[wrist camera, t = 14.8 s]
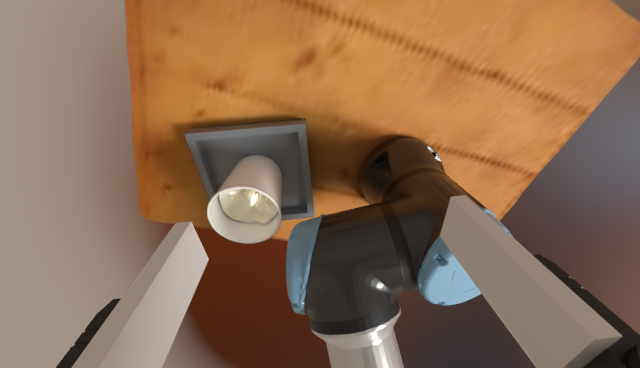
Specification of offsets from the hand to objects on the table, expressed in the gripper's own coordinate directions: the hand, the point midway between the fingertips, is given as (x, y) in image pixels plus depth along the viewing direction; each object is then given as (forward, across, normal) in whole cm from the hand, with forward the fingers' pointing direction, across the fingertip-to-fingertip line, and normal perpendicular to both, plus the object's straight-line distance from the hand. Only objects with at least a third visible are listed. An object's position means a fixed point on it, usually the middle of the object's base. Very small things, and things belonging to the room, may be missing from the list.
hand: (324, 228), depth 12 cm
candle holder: (+28, +10, +11) cm, 32 cm away
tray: (+29, +10, +11) cm, 32 cm away
